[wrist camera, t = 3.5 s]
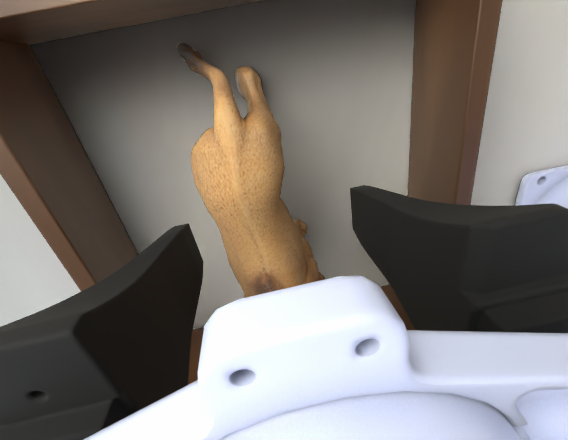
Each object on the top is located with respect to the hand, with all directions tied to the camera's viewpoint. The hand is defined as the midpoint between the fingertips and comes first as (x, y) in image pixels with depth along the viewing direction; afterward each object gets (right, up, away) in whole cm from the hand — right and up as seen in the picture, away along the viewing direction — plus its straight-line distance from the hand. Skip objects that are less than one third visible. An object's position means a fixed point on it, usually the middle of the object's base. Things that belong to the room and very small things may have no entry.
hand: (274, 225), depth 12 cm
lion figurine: (0, +2, +3) cm, 4 cm away
